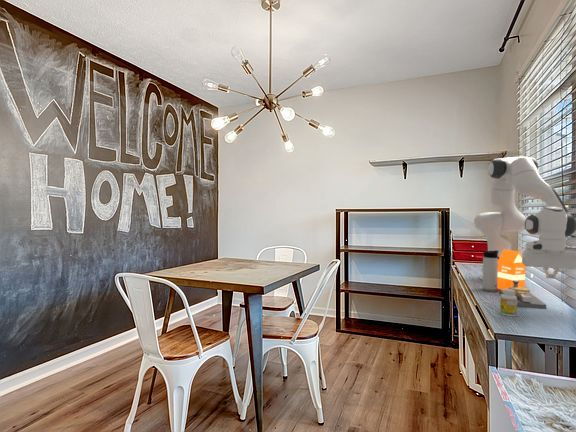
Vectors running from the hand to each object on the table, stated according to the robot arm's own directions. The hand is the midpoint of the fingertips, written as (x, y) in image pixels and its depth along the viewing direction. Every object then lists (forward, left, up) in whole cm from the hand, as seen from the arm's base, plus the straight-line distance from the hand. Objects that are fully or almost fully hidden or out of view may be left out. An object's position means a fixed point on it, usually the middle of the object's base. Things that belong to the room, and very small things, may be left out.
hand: (550, 278), depth 141 cm
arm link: (-6, -9, -10) cm, 15 cm away
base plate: (-7, -8, -12) cm, 16 cm away
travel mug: (-22, -18, -12) cm, 31 cm away
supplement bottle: (+20, -19, -12) cm, 30 cm away
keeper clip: (-4, -10, -10) cm, 15 cm away
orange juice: (-27, -8, -12) cm, 31 cm away
